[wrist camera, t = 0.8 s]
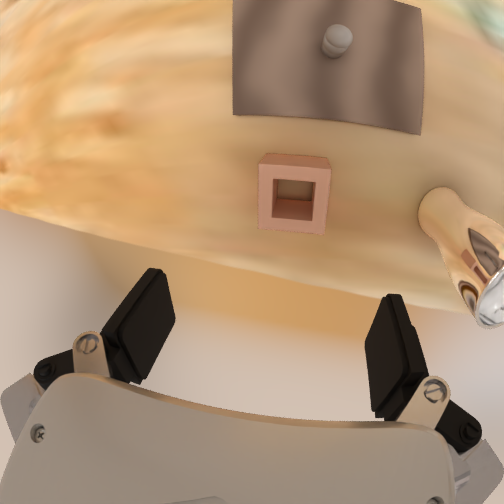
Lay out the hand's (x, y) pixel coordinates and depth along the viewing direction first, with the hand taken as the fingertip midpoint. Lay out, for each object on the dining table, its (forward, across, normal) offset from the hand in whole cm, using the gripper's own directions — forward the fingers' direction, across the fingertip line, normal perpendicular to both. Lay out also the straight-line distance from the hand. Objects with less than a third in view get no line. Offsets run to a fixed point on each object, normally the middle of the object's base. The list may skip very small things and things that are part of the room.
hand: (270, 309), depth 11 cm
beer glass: (+19, -17, +1) cm, 26 cm away
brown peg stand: (+19, -3, -14) cm, 23 cm away
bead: (+19, 0, 0) cm, 19 cm away
